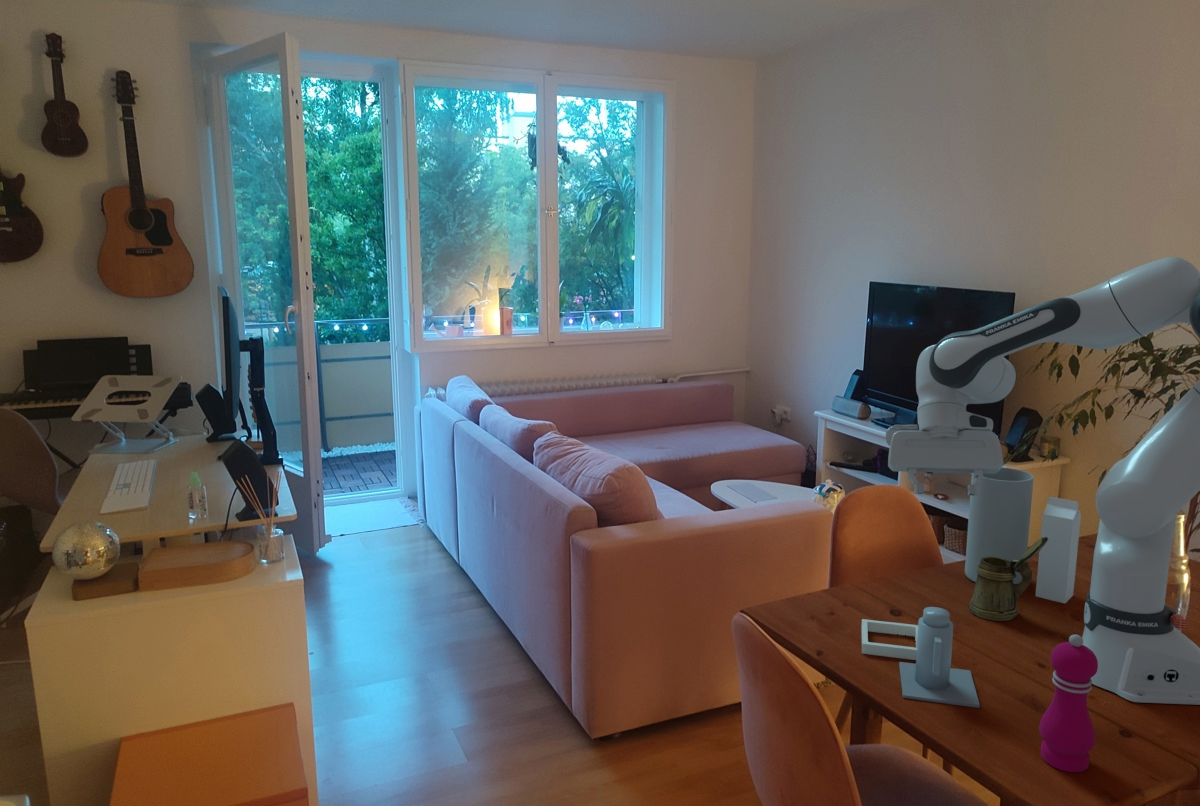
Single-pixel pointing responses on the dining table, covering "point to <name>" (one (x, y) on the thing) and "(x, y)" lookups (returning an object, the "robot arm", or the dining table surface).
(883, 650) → the holder
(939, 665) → the blue capped bottle
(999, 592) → the wooden mug
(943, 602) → the dining table surface
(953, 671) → the mat
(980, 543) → the cylinder vase
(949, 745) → the dining table surface
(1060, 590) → the milk
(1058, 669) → the pepper mill
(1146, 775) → the dining table surface
